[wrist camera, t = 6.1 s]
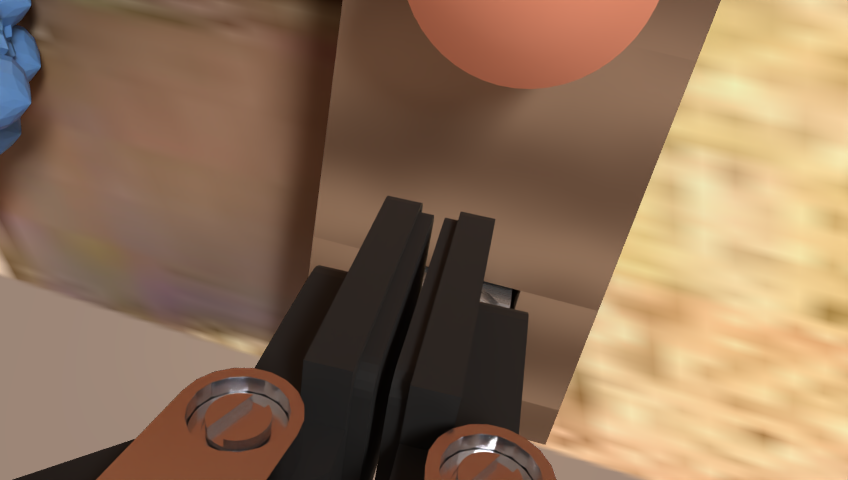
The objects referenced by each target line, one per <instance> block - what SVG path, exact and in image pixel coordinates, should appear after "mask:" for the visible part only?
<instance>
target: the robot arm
mask: <svg viewBox="0 0 848 480" xmlns="http://www.w3.org/2000/svg"><path fill="white" fill-rule="evenodd" d="M422 208H423V203H420V202H416V201H411V200H406V199H402V198H397V197H392V196H387V197H386V199H385V201H384V202H383V204H382V206H381V208H380V210H379V212H378V214H377V216H376V218H375V220H374V222H373V224H372V226H371V228H370V230H369V232H368V234H367V236H366V238H365V240H364V242H363V244H362V246H361V248H360V250H359V252H358V254H357V256H356V258H355V259H354V261H353V263H352V265H351V267H350V269H349V271H343V270H339V269H334V268H330V267H325V266H321V265H318V266H316V267H315V268H314V269H313V271H312V272H311V274H310V275H309V277H308V279H307V281H306V282H305V284H304V286H303V287H302V289H301V291H300V292H299V294H298V296H297V297H296V299H295V301H294V302H293V304H292V306H291V308H290V309H289V311H288V313H287V314H286V316H285V318H284V319H283V321H282V323H281V324H280V326H279V328H278V329H277V331H276V333H275V334H274V336H273V338H272V340H271V341H270V343H269V345H268V346H267V348H266V350H265V351H264V353H263V355H262V356H261V358H260V360H259V361H258V363H257V365H256V367H255V368H230V369H225V370H220V371H215V372H212V373H210V374H208V375H205V376H203V377H201V378H199V379H196V380H195V381H194V382H193V383H191V384H190V385H188V386H187V387H186V388H185V389H183V390H182V391H181V392H180V393H179V394H178V395H177V396H176V397H175V398H174V399H173V400H172V401H171V402H170V404H169V405H168V406H167V407H166V408H165V409H164V410H163V411H162V412H161V413H160V414H159V415H158V416H157V417H156V418H155V419H154V420H153V421H152V422H151V423H150V424H149V425H148V426H147V427H146V429H145V430H144V431H143V432H142V433H141V434H140V435H139V436H138V437H137V438H136V439H133V440H130V441H128V442H124V443H122V444H119V445H116V446H112V447H109V448H106V449H103V450H100V451H98V452H94V453H91V454H88V455H85V456H82V457H79V458H76V459H73V460H70V461H67V462H64V463H61V464H58V465H55V466H52V467H49V468H47V469H44V470H41V471H37V472H35V473H32V474H28V475H25V476H22V477H19V478H16V479H13V480H373V477H374V473H375V470H376V467H377V470H376V477H375V480H557V479H556V477H555V474H554V471H553V468H552V465H551V464H550V463H549V461H548V460H547V459H546V457H545V456H544V455H543V453H542V452H541V450H539V449H538V448H537V447H536V446H534V445H533V444H532V443H531V442H530V441H528V440H527V439H526V438H524V437H522V436H520V435H519V428H520V416H521V404H522V392H523V380H524V368H525V356H526V344H527V332H528V318H529V314H528V312H524V311H520V310H515V309H511V308H506V307H502V306H497V305H493V304H489V303H484V302H480V298H481V293H482V287H483V282H484V277H485V272H486V266H487V261H488V256H489V251H490V246H491V240H492V235H493V230H494V225H495V219H494V218H489V217H485V216H480V215H475V214H471V213H466V212H462V211H461V212H460V215H459V219H458V220H454V219H450V218H445V219H444V221H443V225H442V228H441V231H440V234H439V237H438V240H437V243H436V246H435V249H434V252H433V255H432V258H431V261H430V264H429V267H428V270H427V274H426V277H425V280H424V283H423V278H424V272H425V267H426V261H427V256H428V250H429V244H430V239H431V233H432V228H433V222H434V215H432V214H427V213H422ZM422 284H423V286H422Z"/></svg>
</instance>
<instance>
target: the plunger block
mask: <svg viewBox="0 0 848 480" xmlns="http://www.w3.org/2000/svg"><path fill="white" fill-rule="evenodd" d="M720 1H721V0H659V1H658V4H657V6H656V8H655V10H654V11H653V13H652V15H651V17H650V18H649V20H648V22H647V23H646V25H645V26H644V27H643V29H642V30H641V31H640V33H639V34H638V35H637V37H636V38H635V39H634V40H633V41H632V42H631V43H630V44H629V45H628V46H627V47H626V48H625V50H624V51H622V52H621V53H620V54H619V55H618V56H616V57H615V58H614V59H613V60H612V61H610V62H609V63H607V64H606V65H604V66H603V67H601V68H600V69H598V70H597V71H595V72H593V73H591V74H589V75H587V76H585V77H583V78H580V79H578V80H575V81H572V82H569V83H566V84H563V85H558V86H553V87H549V88H538V89H519V88H510V87H505V86H499V85H496V84H493V83H489V82H486V81H483V80H481V79H479V78H477V77H475V76H472V75H470V74H468V73H467V72H465V71H464V70H462V69H460V68H459V67H457V66H456V65H454V64H453V63H452V62H451V61H449V60H448V59H447V58H446V57H445V56H443V55H442V54H441V53H440V52H439V50H438V49H437V48H436V47H435V46H434V45H433V44H432V43H431V42H430V40H429V39H428V38H427V36H426V35H425V33H424V32H423V31H422V29H421V27H420V26H419V24H418V22H417V20H416V18H415V17H414V15H413V12H412V10H411V7H410V5H409V2H408V0H343V2H342V10H341V18H340V26H339V34H338V42H337V50H336V58H335V66H334V74H333V82H332V90H331V98H330V106H329V114H328V122H327V130H326V138H325V147H324V155H323V163H322V171H321V179H320V187H319V195H318V203H317V211H316V219H315V227H314V235H313V243H312V251H311V259H310V267H309V275H310V274H311V272H312V271H313V269H314V268H315V267H316V266H318V265H321V266H325V267H330V268H334V269H339V270H343V271H349V269H350V267H351V265H352V263H353V261H354V259H355V258H356V256H357V254H358V252H359V250H360V248H361V246H362V244H363V242H364V240H365V238H366V236H367V234H368V232H369V230H370V228H371V226H372V224H373V222H374V220H375V218H376V216H377V214H378V212H379V210H380V208H381V206H382V204H383V202H384V201H385V199H386V197H387V196H392V197H397V198H402V199H406V200H411V201H416V202H420V203H423V208H422V213H427V214H432V215H434V222H433V228H432V233H431V239H430V244H429V250H428V256H427V261H426V266H428V267H429V264H430V261H431V258H432V255H433V252H434V249H435V246H436V243H437V240H438V237H439V234H440V231H441V228H442V225H443V221H444V219H445V218H450V219H454V220H458V219H459V215H460V212H461V211H462V212H466V213H471V214H475V215H480V216H485V217H489V218H494V219H495V225H494V230H493V235H492V240H491V246H490V251H489V256H488V261H487V266H486V272H485V277H484V281H485V282H489V283H493V284H497V285H500V286H504V287H508V288H512V296H511V303H510V308H511V309H515V310H520V311H524V312H528V314H529V318H528V332H527V344H526V356H525V368H524V380H523V392H522V404H521V416H520V428H519V435H520V436H522V437H524V438H526V439H527V440H530V441H534V442H538V443H541V444H546V442H547V439H548V437H549V434H550V431H551V429H552V426H553V424H554V421H555V419H556V416H557V414H558V411H559V409H560V406H561V404H562V401H563V399H564V396H565V393H566V391H567V388H568V386H569V383H570V381H571V378H572V376H573V373H574V371H575V368H576V366H577V363H578V360H579V358H580V355H581V353H582V350H583V348H584V345H585V343H586V340H587V338H588V335H589V333H590V330H591V328H592V325H593V322H594V320H595V317H596V315H597V312H598V310H599V307H600V305H601V302H602V300H603V297H604V295H605V292H606V290H607V287H608V284H609V282H610V279H611V277H612V274H613V272H614V269H615V267H616V264H617V262H618V259H619V257H620V254H621V252H622V249H623V246H624V244H625V241H626V239H627V236H628V234H629V231H630V229H631V226H632V224H633V221H634V219H635V216H636V213H637V211H638V208H639V206H640V203H641V201H642V198H643V196H644V193H645V191H646V188H647V186H648V183H649V181H650V178H651V175H652V173H653V170H654V168H655V165H656V163H657V160H658V158H659V155H660V153H661V150H662V148H663V145H664V143H665V140H666V137H667V135H668V132H669V130H670V127H671V125H672V122H673V120H674V117H675V115H676V112H677V110H678V107H679V105H680V102H681V99H682V97H683V94H684V92H685V89H686V87H687V84H688V82H689V79H690V77H691V74H692V72H693V69H694V67H695V64H696V61H697V59H698V56H699V54H700V51H701V49H702V46H703V44H704V41H705V39H706V36H707V34H708V31H709V28H710V26H711V23H712V21H713V18H714V16H715V13H716V11H717V8H718V6H719V3H720ZM309 275H308V277H309Z"/></svg>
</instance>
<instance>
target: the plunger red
mask: <svg viewBox="0 0 848 480" xmlns="http://www.w3.org/2000/svg"><path fill="white" fill-rule="evenodd" d="M658 1H659V0H408V2H409V5H410V7H411V10H412V12H413V15H414V17H415V18H416V20H417V22H418V24H419V26H420V27H421V29H422V31H423V32H424V33H425V35H426V36H427V38H428V39H429V40H430V42H431V43H432V44H433V45H434V46H435V47H436V48H437V49H438V50H439V52H440V53H441V54H442V55H443V56H445V57H446V58H447V59H448V60H449V61H451V62H452V63H453V64H454V65H456V66H457V67H459V68H460V69H462V70H464V71H465V72H467V73H468V74H470V75H472V76H475V77H477V78H479V79H481V80H483V81H486V82H489V83H493V84H496V85H499V86H505V87H510V88H519V89H538V88H549V87H553V86H558V85H563V84H566V83H569V82H572V81H575V80H578V79H580V78H583V77H585V76H587V75H589V74H591V73H593V72H595V71H597V70H598V69H600V68H601V67H603V66H604V65H606V64H607V63H609V62H610V61H612V60H613V59H614V58H615V57H616V56H618V55H619V54H620V53H621V52H622V51H624V50H625V48H626V47H627V46H628V45H629V44H630V43H631V42H632V41H633V40H634V39H635V38H636V37H637V35H638V34H639V33H640V31H641V30H642V29H643V27H644V26H645V25H646V23H647V22H648V20H649V18H650V17H651V15H652V13H653V11H654V10H655V8H656V6H657V4H658Z"/></svg>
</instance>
